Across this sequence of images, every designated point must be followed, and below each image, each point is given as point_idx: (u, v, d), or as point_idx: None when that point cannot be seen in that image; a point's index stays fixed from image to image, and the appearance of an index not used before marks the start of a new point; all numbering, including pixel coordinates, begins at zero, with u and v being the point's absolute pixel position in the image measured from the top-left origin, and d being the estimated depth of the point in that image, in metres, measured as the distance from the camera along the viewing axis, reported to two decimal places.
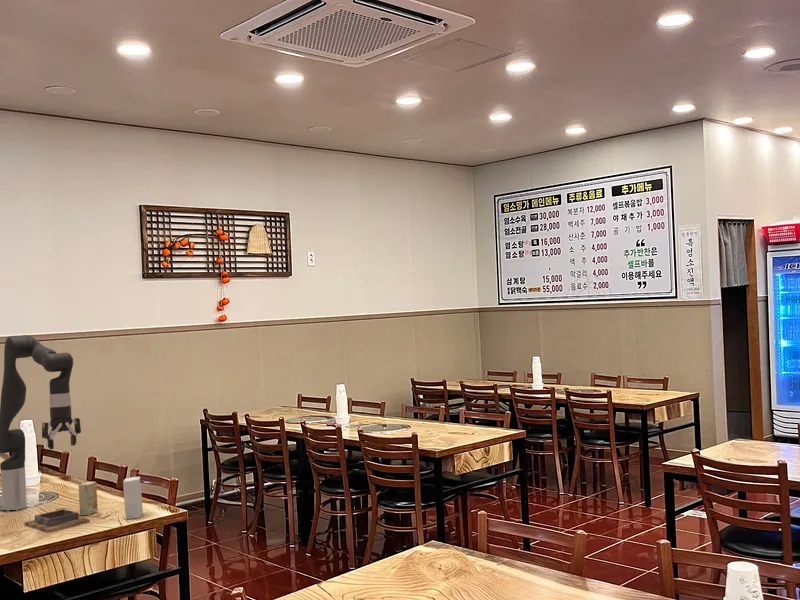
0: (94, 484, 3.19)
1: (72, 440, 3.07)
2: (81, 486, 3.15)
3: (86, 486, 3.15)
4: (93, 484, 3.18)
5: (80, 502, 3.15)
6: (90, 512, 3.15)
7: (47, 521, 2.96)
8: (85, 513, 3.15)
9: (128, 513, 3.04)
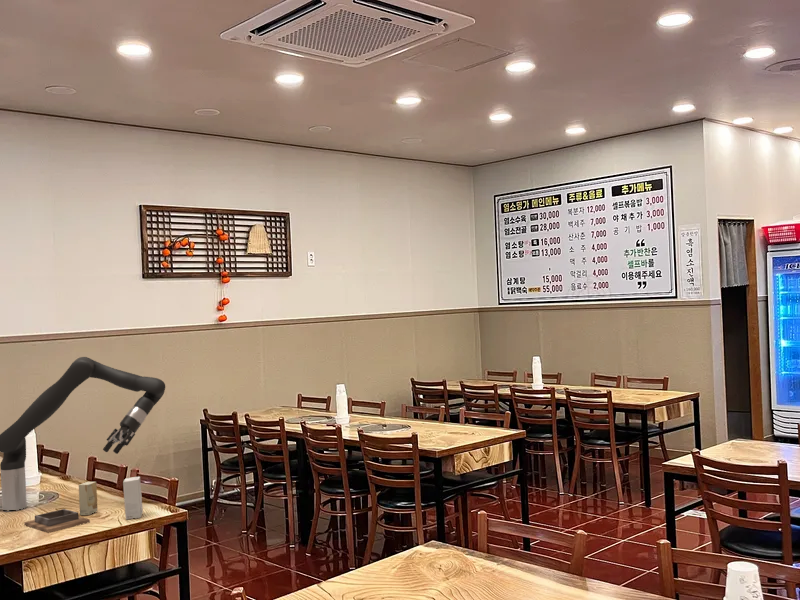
0: (94, 484, 3.19)
1: (108, 447, 3.29)
2: (81, 486, 3.15)
3: (86, 486, 3.15)
4: (93, 484, 3.18)
5: (80, 502, 3.15)
6: (90, 512, 3.15)
7: (47, 521, 2.96)
8: (85, 513, 3.15)
9: (128, 513, 3.04)
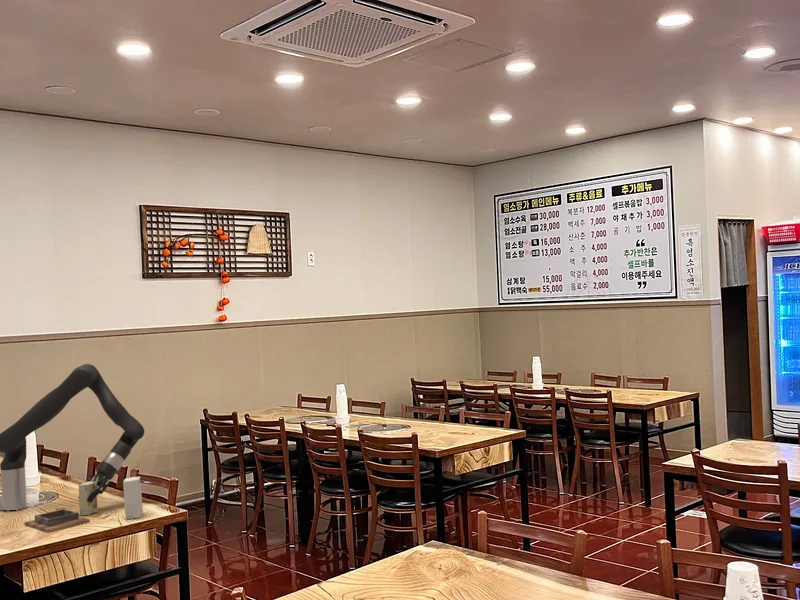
0: None
1: None
2: (81, 486, 3.15)
3: (86, 486, 3.15)
4: (93, 484, 3.18)
5: (80, 502, 3.15)
6: (90, 512, 3.15)
7: (47, 521, 2.96)
8: (85, 513, 3.15)
9: (128, 513, 3.04)
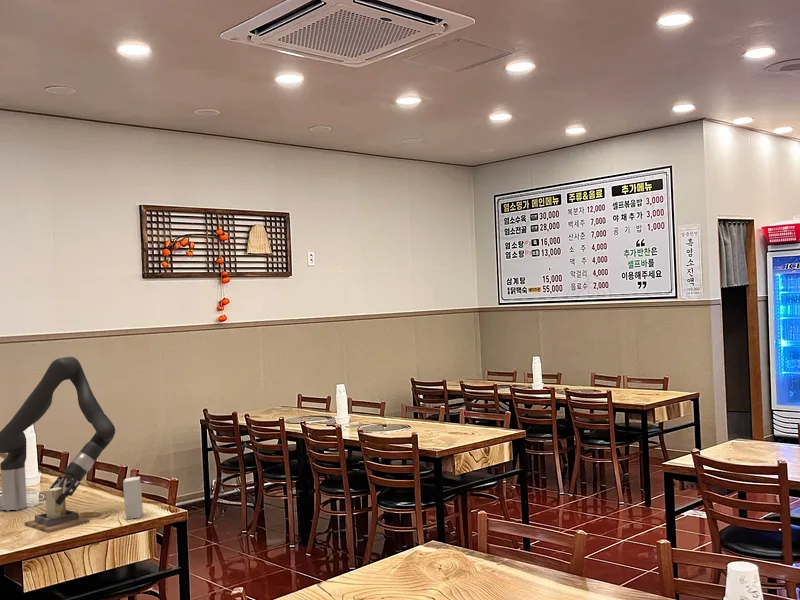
0: (62, 490, 3.05)
1: None
2: (48, 492, 3.02)
3: (53, 492, 3.01)
4: (61, 490, 3.05)
5: (47, 509, 3.02)
6: None
7: (47, 521, 2.96)
8: None
9: (128, 513, 3.04)
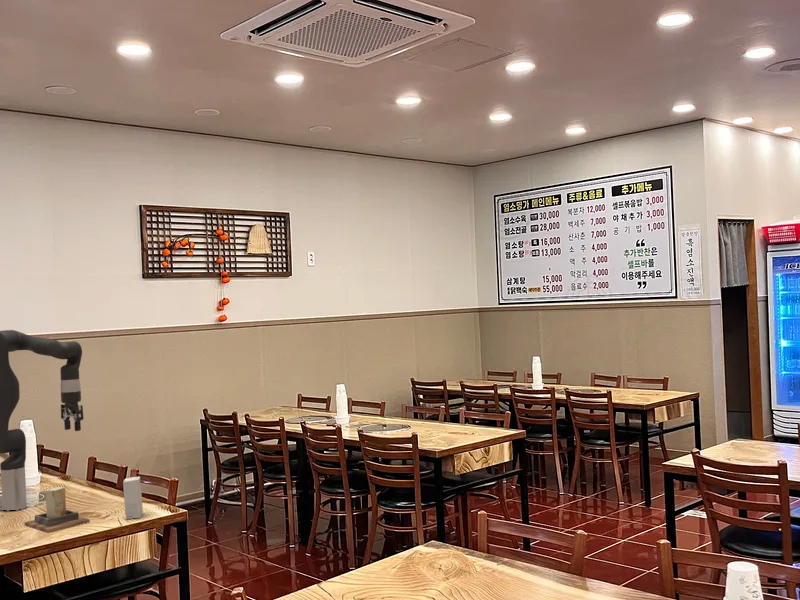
0: (62, 490, 3.05)
1: (67, 425, 3.25)
2: (48, 492, 3.02)
3: (53, 492, 3.01)
4: (61, 490, 3.05)
5: (47, 509, 3.02)
6: None
7: (47, 521, 2.96)
8: None
9: (128, 513, 3.04)
